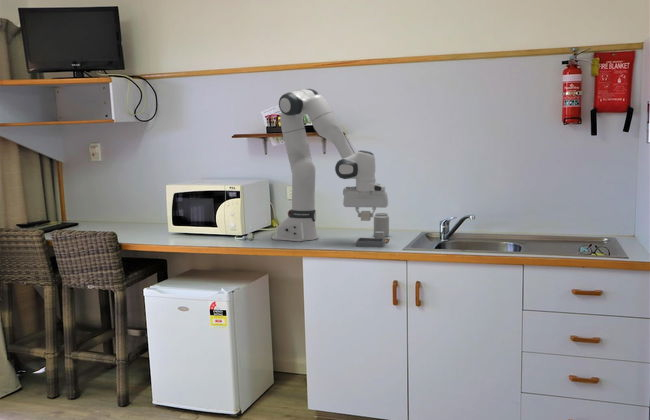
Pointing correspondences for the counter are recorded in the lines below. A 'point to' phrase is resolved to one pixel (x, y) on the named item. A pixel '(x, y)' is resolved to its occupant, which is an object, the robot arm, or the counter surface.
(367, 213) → the stone
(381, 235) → the stone
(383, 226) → the can
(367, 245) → the bin
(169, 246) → the counter surface
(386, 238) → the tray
